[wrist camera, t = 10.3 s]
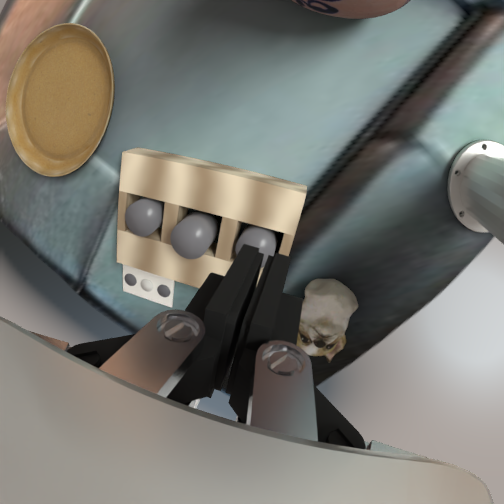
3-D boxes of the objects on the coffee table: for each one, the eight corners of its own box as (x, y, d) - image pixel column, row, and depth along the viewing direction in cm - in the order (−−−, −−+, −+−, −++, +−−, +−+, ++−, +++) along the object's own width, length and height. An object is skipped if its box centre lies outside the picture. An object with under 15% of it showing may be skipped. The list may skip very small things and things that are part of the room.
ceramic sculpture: (383, 317, 34) (332, 391, 42) (374, 277, 42) (333, 350, 49) (297, 291, 35) (261, 372, 42) (302, 253, 42) (271, 331, 50)
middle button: (221, 214, 40) (210, 228, 35) (215, 247, 42) (204, 263, 37) (187, 205, 40) (172, 218, 36) (182, 238, 42) (168, 253, 38)
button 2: (282, 224, 41) (278, 238, 37) (273, 255, 43) (269, 272, 39) (247, 215, 41) (239, 228, 37) (240, 246, 43) (232, 262, 39)
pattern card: (175, 277, 47) (173, 279, 47) (172, 306, 50) (171, 308, 49) (124, 260, 48) (122, 262, 47) (124, 289, 51) (122, 291, 50)
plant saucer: (138, 154, 41) (125, 158, 38) (32, 184, 46) (19, 189, 43) (116, 1, 31) (104, -4, 28) (13, 62, 36) (0, 62, 33)
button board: (306, 186, 38) (306, 194, 35) (275, 293, 46) (272, 309, 42) (137, 147, 40) (122, 151, 36) (129, 250, 47) (116, 261, 43)
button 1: (172, 196, 42) (157, 207, 38) (169, 227, 44) (154, 240, 40) (143, 189, 42) (126, 198, 38) (140, 219, 44) (124, 231, 40)
